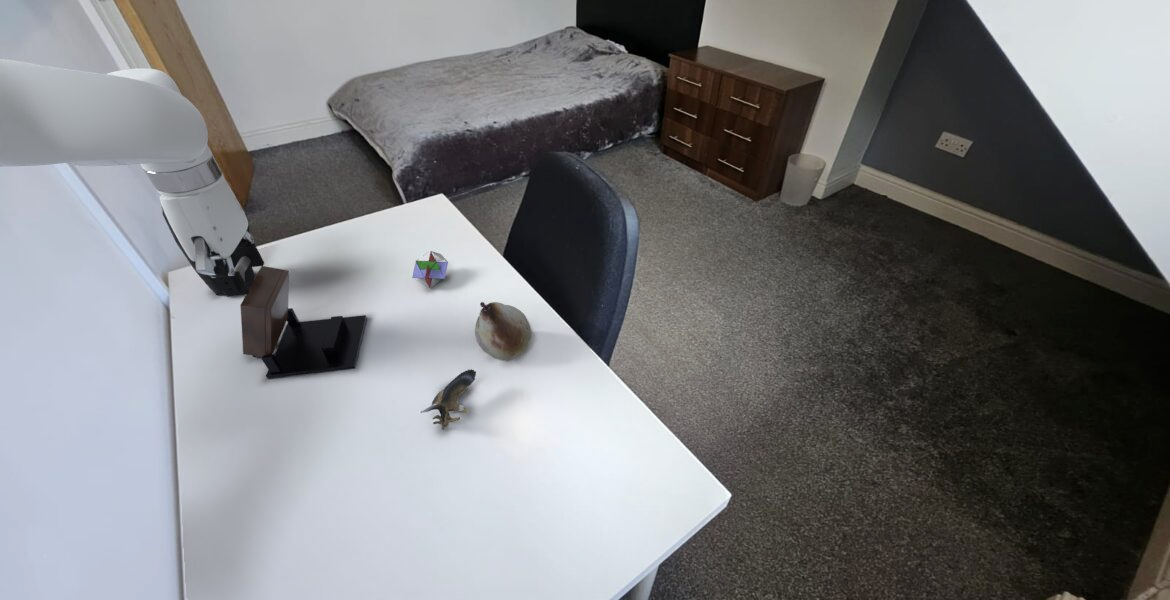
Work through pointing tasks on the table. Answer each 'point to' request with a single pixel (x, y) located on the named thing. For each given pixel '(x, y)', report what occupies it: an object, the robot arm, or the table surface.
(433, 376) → the table surface
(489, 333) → the fruit
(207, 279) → the portable speaker
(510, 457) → the table surface
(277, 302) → the open drawer
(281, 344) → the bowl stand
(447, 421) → the eagle figurine
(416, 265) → the geometric puzzle
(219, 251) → the robot arm
